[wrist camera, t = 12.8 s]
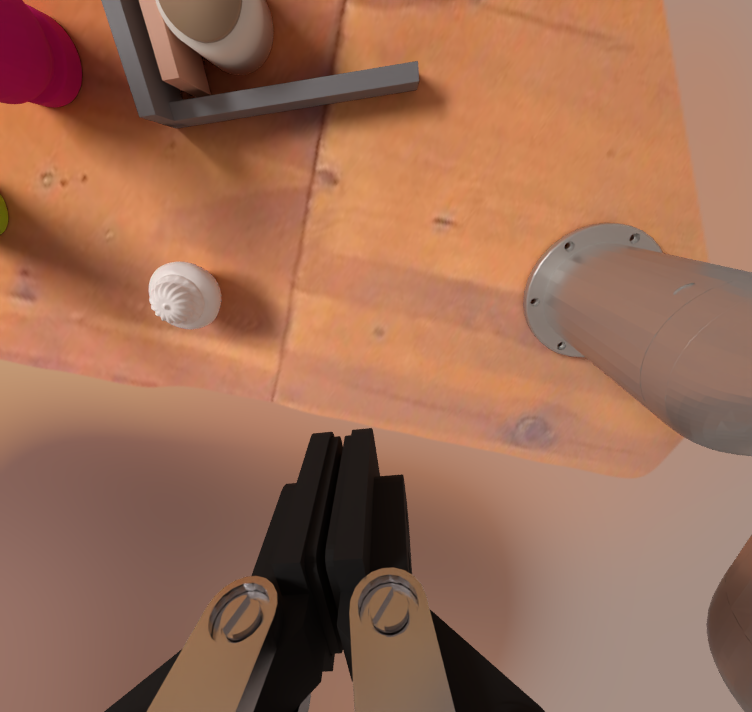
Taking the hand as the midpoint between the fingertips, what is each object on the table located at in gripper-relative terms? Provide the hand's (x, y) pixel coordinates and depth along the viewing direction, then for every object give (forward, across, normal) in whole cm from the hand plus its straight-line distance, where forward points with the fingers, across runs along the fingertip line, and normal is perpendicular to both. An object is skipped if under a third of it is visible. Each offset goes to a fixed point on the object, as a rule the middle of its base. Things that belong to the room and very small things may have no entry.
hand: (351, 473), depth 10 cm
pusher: (+27, +12, -20) cm, 36 cm away
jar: (+27, +8, -20) cm, 35 cm away
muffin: (+27, +17, -1) cm, 32 cm away
